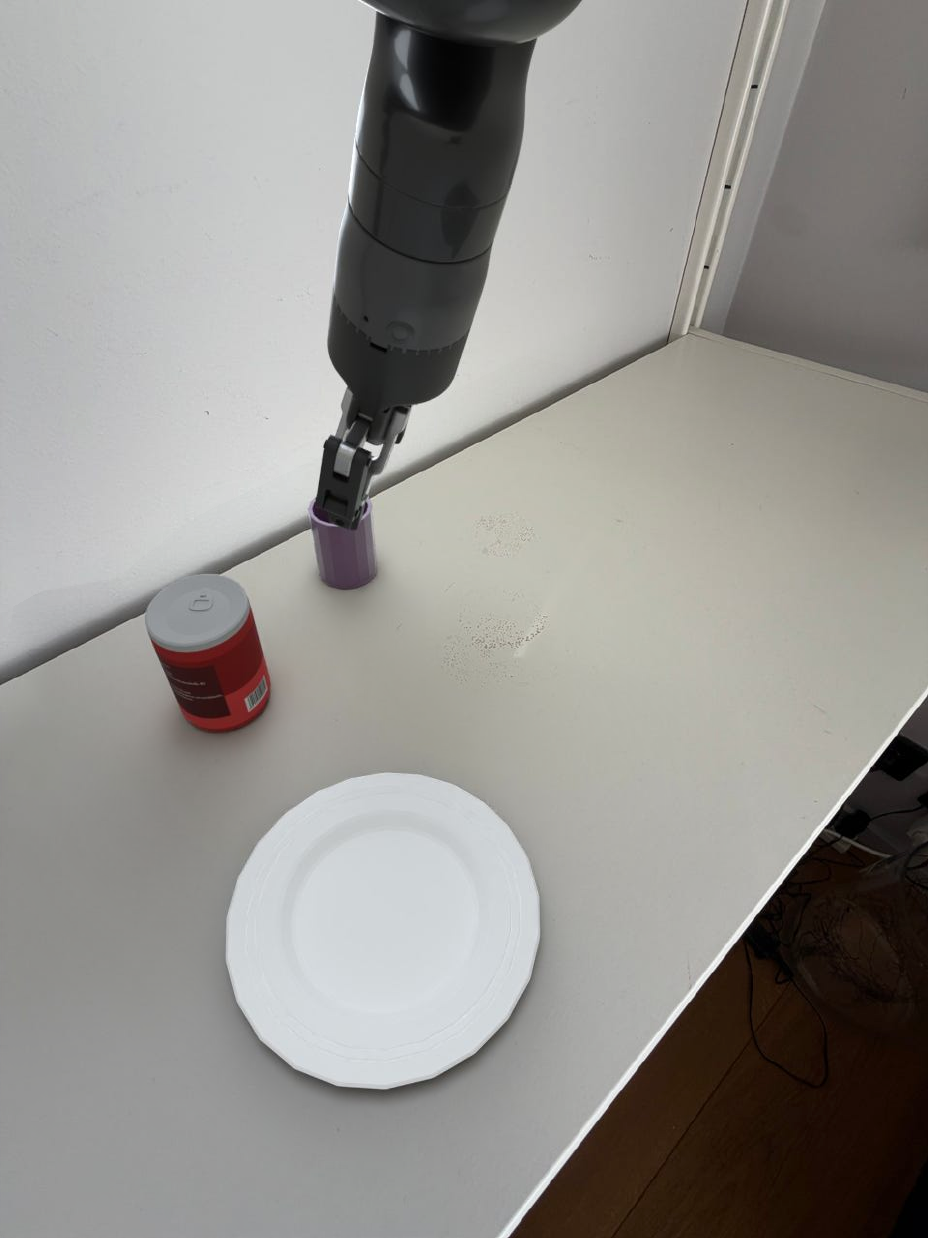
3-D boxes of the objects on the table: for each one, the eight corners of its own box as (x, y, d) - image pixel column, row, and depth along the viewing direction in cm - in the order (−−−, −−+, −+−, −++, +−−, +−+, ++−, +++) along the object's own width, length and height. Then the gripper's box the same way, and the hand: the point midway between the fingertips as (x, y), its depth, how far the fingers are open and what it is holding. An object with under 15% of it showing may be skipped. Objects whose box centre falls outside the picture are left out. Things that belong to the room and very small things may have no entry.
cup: (356, 596, 71) (349, 533, 65) (307, 577, 73) (295, 514, 67) (387, 561, 75) (383, 499, 69) (339, 544, 77) (331, 482, 71)
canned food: (267, 655, 65) (243, 564, 57) (278, 723, 60) (253, 633, 52) (179, 673, 63) (143, 582, 56) (183, 745, 58) (143, 656, 50)
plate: (517, 1133, 40) (520, 1127, 39) (173, 1055, 43) (165, 1046, 41) (552, 809, 55) (555, 796, 53) (294, 764, 57) (290, 750, 56)
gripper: (388, 189, 40) (355, 391, 54) (280, 348, 33) (274, 532, 47) (509, 245, 41) (445, 431, 55) (427, 413, 34) (378, 576, 48)
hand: (366, 478), depth 51 cm, fingers open, 8 cm apart
